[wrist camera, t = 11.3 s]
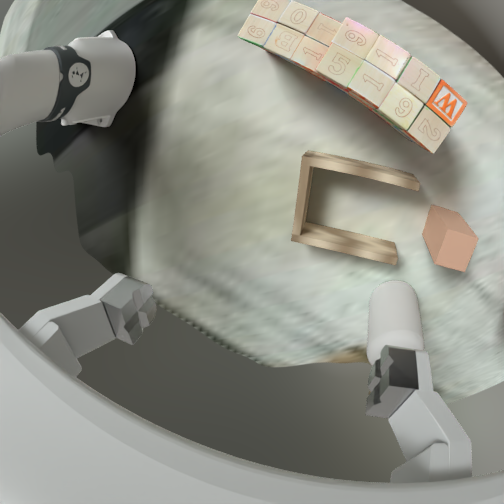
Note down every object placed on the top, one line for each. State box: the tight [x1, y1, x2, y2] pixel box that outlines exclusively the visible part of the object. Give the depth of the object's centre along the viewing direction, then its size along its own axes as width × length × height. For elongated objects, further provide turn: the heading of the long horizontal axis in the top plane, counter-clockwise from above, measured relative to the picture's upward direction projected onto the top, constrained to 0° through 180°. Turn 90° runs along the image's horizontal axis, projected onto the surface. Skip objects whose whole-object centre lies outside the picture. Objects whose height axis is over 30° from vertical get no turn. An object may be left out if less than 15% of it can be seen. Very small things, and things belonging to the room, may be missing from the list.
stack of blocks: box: [238, 0, 467, 154], centre depth 22 cm, size 21×6×12 cm, turn 61°
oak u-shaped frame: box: [291, 151, 420, 265], centre depth 33 cm, size 14×11×4 cm
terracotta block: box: [422, 204, 478, 272], centre depth 28 cm, size 4×4×8 cm
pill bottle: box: [367, 280, 424, 366], centre depth 33 cm, size 8×8×15 cm
